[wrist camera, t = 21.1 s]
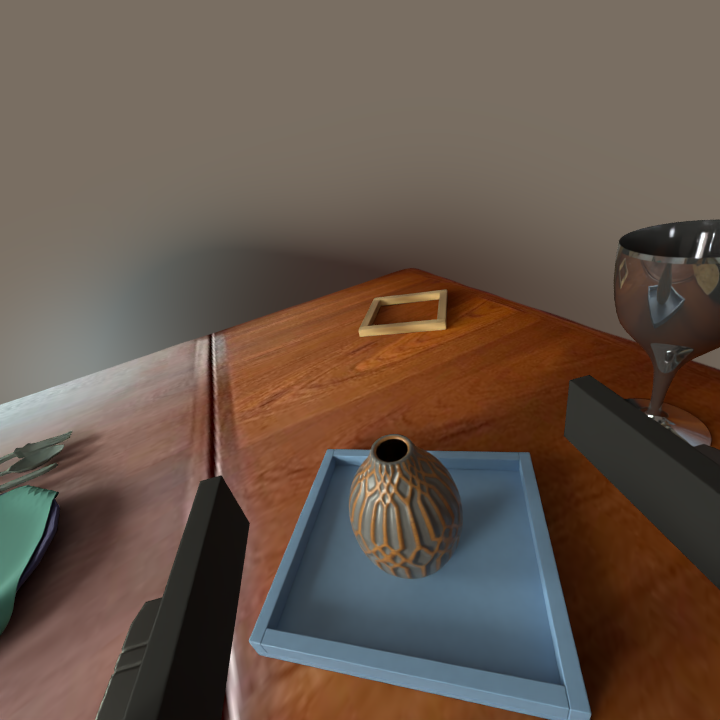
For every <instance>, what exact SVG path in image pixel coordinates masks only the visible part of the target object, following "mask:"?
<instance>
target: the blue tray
mask: <svg viewBox="0 0 720 720" xmlns="http://www.w3.org/2000/svg"><path fill="white" fill-rule="evenodd" d="M427 452H429V453H431V454H432V455H433V456H435V457H436V458H437V459H438V460H439V461H440V462H441V463H442V464H443V465H444V466H445V467H446V469H447V470H448V471H449V473H450V475H451V476H452V478H453V480H454V482H455V484H456V486H457V489H458V491H459V494H460V498H461V503H462V511H463V525H462V533H461V537H460V540H459V543H458V546H457V548H456V550H455V552H454V554H453V556H452V557H451V558H450V560H449V561H448V562H447V563H446V564H445V565H444V566H443V567H442V568H441V569H440V570H438V571H437V572H435V573H433V574H431V575H429V576H426V577H423V578H418V579H404V578H399V577H396V576H393V575H391V574H388V573H386V572H385V571H383V570H381V569H380V568H379V567H377V566H376V565H375V564H374V563H373V562H372V561H371V560H370V559H369V558H368V557H367V556H366V554H365V553H364V552H363V550H362V549H361V547H360V545H359V543H358V541H357V539H356V537H355V534H354V532H353V529H352V525H351V521H350V515H349V496H350V489H351V485H352V482H353V479H354V476H355V474H356V472H357V470H358V469H359V467H360V466H361V465H362V463H363V462H364V461H365V460H366V458H367V457H368V456H369V454H370V450H349V449H336V450H335V449H327V452H326V454H325V456H324V459H323V461H322V464H321V466H320V469H319V471H318V473H317V476H316V478H315V481H314V483H313V486H312V488H311V491H310V493H309V495H308V498H307V500H306V503H305V505H304V508H303V510H302V513H301V515H300V517H299V520H298V522H297V525H296V527H295V530H294V532H293V535H292V537H291V539H290V542H289V544H288V547H287V549H286V552H285V554H284V556H283V559H282V561H281V564H280V566H279V569H278V571H277V574H276V576H275V578H274V581H273V583H272V586H271V588H270V591H269V593H268V596H267V598H266V600H265V603H264V605H263V608H262V610H261V613H260V615H259V618H258V620H257V622H256V625H255V627H254V630H253V632H252V635H251V637H250V639H249V643H250V644H251V645H252V646H253V648H254V649H255V650H256V652H257V653H258V654H259V655H262V656H267V657H271V658H276V659H280V660H285V661H289V662H294V663H298V664H303V665H307V666H312V667H316V668H321V669H325V670H330V671H334V672H339V673H343V674H348V675H352V676H357V677H361V678H366V679H370V680H375V681H379V682H384V683H388V684H393V685H397V686H402V687H406V688H411V689H415V690H420V691H424V692H429V693H433V694H438V695H442V696H447V697H451V698H456V699H460V700H465V701H469V702H474V703H478V704H483V705H487V706H492V707H496V708H501V709H505V710H510V711H514V712H519V713H523V714H528V715H532V716H537V717H541V718H546V719H550V720H590V717H591V709H590V705H589V701H588V696H587V692H586V688H585V684H584V680H583V675H582V671H581V667H580V663H579V659H578V654H577V650H576V646H575V642H574V638H573V633H572V629H571V625H570V621H569V617H568V612H567V608H566V604H565V600H564V595H563V591H562V587H561V583H560V579H559V574H558V570H557V566H556V562H555V558H554V553H553V549H552V545H551V541H550V537H549V532H548V528H547V524H546V520H545V516H544V511H543V507H542V503H541V499H540V495H539V490H538V486H537V482H536V478H535V474H534V469H533V465H532V461H531V457H530V453H529V452H469V451H427Z"/></svg>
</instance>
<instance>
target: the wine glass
mask: <svg viewBox="0 0 720 720" xmlns="http://www.w3.org/2000/svg"><path fill="white" fill-rule="evenodd" d="M614 299H615V306H616V312H617V315H618V319H619V321H620V324H621V325H622V326H623V328H624V329H625V330H626V332H627V333H628V334H629V335H630V336H631V337H632V338H633V339H634V340H635V341H636V342H637V343H638V344H639V345H640V346H641V347H642V348H643V349H644V350H645V351H646V353H647V354H648V356H649V357H650V359H651V361H652V364H653V369H654V379H653V390H652V396H651V400H647V399H625V400H626V401H628V402H629V403H631V404H632V405H633V406H635V407H636V408H638V409H639V410H641V411H642V412H644V413H645V414H646V415H648V416H649V417H651V418H652V419H654V420H655V421H657V422H658V423H659V424H661V425H662V426H664V427H665V428H667V429H668V430H670V431H671V432H672V433H674V434H675V435H677V436H678V437H680V438H681V439H683V440H684V441H685V442H687V443H688V444H690V445H691V446H693V447H694V446H698V445H701V444H706V445H708V446H710V445H711V441H712V439H711V434H710V432H709V430H708V429H707V427H706V426H705V425H704V424H703V423H702V422H701V421H700V420H699V419H697V418H696V417H695V416H693V415H692V414H690V413H688V412H686V411H684V410H682V409H680V408H678V407H675V406H673V405H670V404H666V403H663V402H664V399H665V396H666V393H667V391H668V389H669V386H670V384H671V382H672V380H673V378H674V377H675V375H676V373H677V372H678V370H679V369H680V368H681V367H683V366H684V365H685V364H686V363H688V362H689V361H691V360H692V359H694V358H696V357H698V356H701V355H703V354H705V353H707V352H710V351H712V350H715V349H717V348H719V347H720V220H698V221H686V222H676V223H669V224H662V225H657V226H651V227H647V228H643V229H639V230H636V231H633V232H631V233H628V234H626V235H624V236H623V237H622V238H621V239H620V240H619V244H618V249H617V255H616V263H615V273H614Z"/></svg>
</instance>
